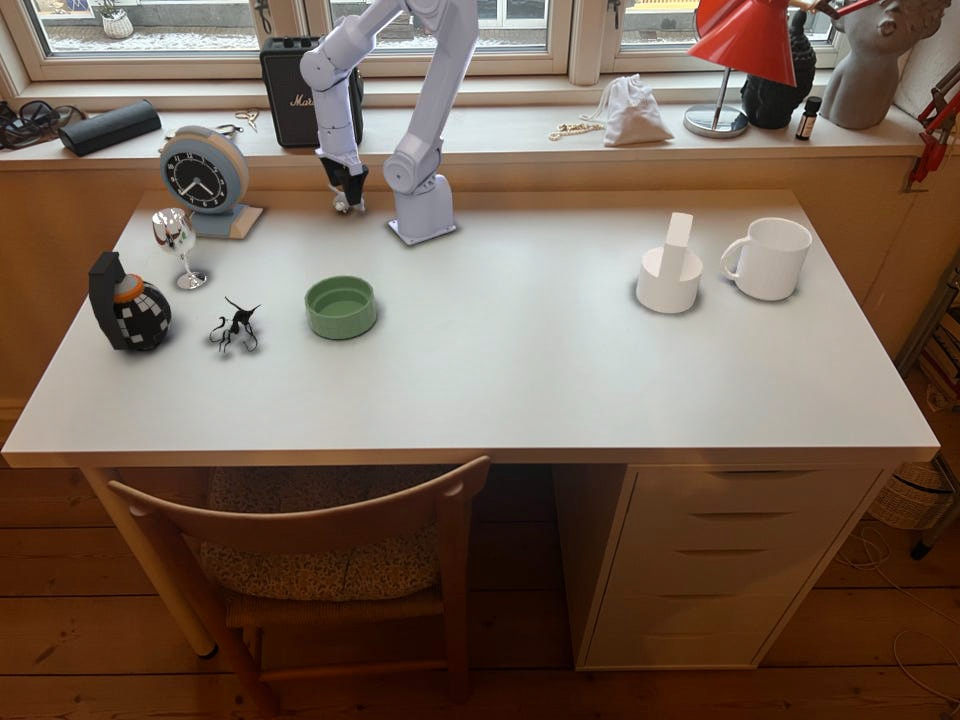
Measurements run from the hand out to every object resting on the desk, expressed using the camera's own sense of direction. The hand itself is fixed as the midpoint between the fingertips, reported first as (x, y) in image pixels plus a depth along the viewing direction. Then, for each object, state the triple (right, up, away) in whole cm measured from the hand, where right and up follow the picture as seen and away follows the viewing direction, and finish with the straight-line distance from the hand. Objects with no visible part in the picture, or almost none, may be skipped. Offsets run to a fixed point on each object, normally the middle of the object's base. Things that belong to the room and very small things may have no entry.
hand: (346, 194), depth 125 cm
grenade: (-25, -28, -24) cm, 44 cm away
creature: (-11, -27, -23) cm, 37 cm away
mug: (+67, -18, -14) cm, 71 cm away
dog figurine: (0, -3, +3) cm, 4 cm away
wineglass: (-23, -17, -12) cm, 31 cm away
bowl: (+3, -24, -20) cm, 31 cm away
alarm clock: (-23, -5, 0) cm, 23 cm away
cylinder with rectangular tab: (+53, -20, -16) cm, 59 cm away
